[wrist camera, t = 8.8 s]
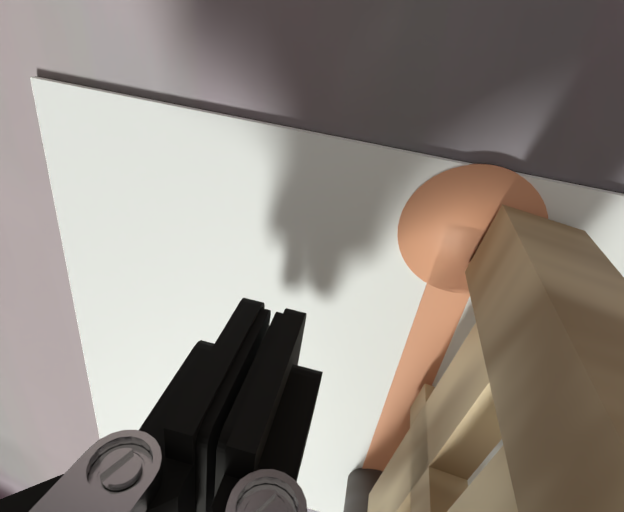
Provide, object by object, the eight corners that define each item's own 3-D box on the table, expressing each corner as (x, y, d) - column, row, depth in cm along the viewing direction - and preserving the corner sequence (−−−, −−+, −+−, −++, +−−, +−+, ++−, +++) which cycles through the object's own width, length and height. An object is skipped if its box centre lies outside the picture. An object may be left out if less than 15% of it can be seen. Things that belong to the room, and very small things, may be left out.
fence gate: (409, 481, 15) (410, 807, 9) (358, 463, 16) (323, 774, 9) (584, 230, 10) (923, 638, 3) (502, 204, 10) (677, 552, 3)
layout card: (1075, 278, 9) (1092, 285, 8) (646, 601, 17) (649, 609, 17) (35, 72, 11) (27, 73, 11) (104, 444, 19) (100, 449, 19)
